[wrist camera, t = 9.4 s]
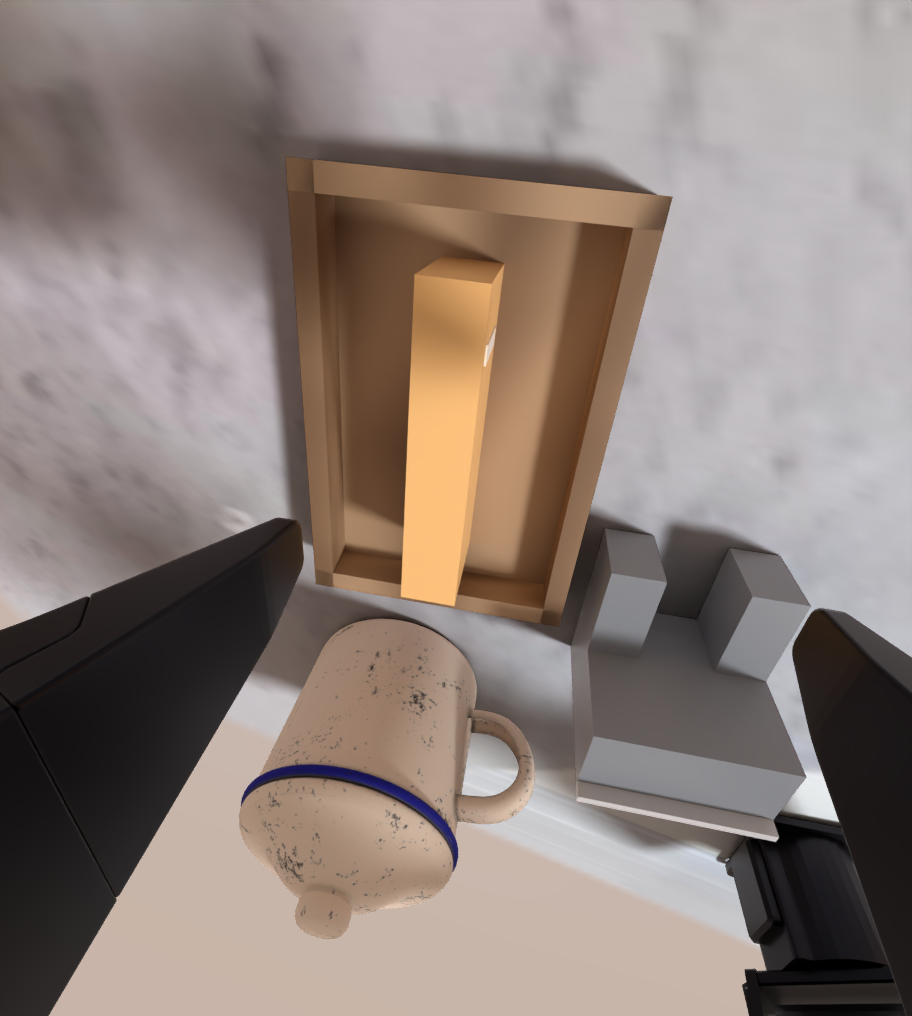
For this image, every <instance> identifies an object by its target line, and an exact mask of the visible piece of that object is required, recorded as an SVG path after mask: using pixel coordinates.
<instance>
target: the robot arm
mask: <svg viewBox="0 0 912 1016" xmlns="http://www.w3.org/2000/svg"><path fill="white" fill-rule="evenodd" d="M303 561H304V554H303V542H302V530H301V526H300V523H299V522H298V521H296V520H290V519H285V518H275V519H272V520H270V521H267V522H265V523H263V524H260V525H258V526H255V527H253V528H250V529H248V530H246V531H243V532H241V533H238V534H236V535H234V536H231V537H229V538H226V539H224V540H221V541H219V542H217V543H214V544H212V545H209V546H207V547H205V548H202V549H200V550H197V551H195V552H192V553H190V554H188V555H185V556H183V557H180V558H178V559H176V560H173V561H171V562H168V563H166V564H164V565H161V566H159V567H156V568H154V569H151V570H149V571H147V572H144V573H142V574H139V575H137V576H135V577H132V578H130V579H127V580H125V581H122V582H120V583H118V584H115V585H113V586H110V587H108V588H106V589H103V590H101V591H98V592H96V593H93V594H92V595H91V596H90V598H89V597H83V598H81V599H79V600H76V601H74V602H72V603H69V604H67V605H64V606H62V607H60V608H57V609H55V610H52V611H49V612H47V613H44V614H42V615H39V616H37V617H34V618H32V619H29V620H27V621H24V622H21V623H19V624H16V625H13V626H10V627H8V628H5V629H2V630H0V1016H49V1014H50V1013H51V1011H52V1009H53V1007H54V1006H55V1004H56V1002H57V1001H58V999H59V997H60V996H61V994H62V992H63V991H64V989H65V987H66V985H67V984H68V982H69V980H70V979H71V977H72V975H73V973H74V972H75V970H76V969H77V967H78V965H79V963H80V962H81V960H82V958H83V957H84V955H85V953H86V952H87V950H88V948H89V946H90V945H91V943H92V941H93V940H94V938H95V936H96V935H97V933H98V931H99V930H100V928H101V926H102V924H103V923H104V921H105V919H106V918H107V916H108V914H109V912H110V911H111V909H112V908H113V906H114V904H115V902H116V897H118V896H119V895H120V893H121V892H122V890H123V888H124V886H125V885H126V883H127V881H128V880H129V878H130V876H131V875H132V873H133V871H134V870H135V868H136V866H137V864H138V863H139V861H140V859H141V858H142V856H143V854H144V853H145V851H146V849H147V847H148V846H149V844H150V842H151V841H152V839H153V837H154V836H155V834H156V832H157V831H158V829H159V827H160V825H161V824H162V822H163V820H164V819H165V817H166V815H167V813H168V812H169V810H170V808H171V807H172V805H173V803H174V802H175V800H176V798H177V797H178V795H179V793H180V792H181V790H182V788H183V786H184V785H185V783H186V781H187V780H188V778H189V776H190V775H191V773H192V771H193V770H194V768H195V766H196V764H197V763H198V761H199V759H200V758H201V756H202V754H203V753H204V751H205V749H206V747H207V746H208V744H209V742H210V741H211V739H212V737H213V735H214V734H215V732H216V730H217V729H218V727H219V725H220V724H221V722H222V720H223V719H224V717H225V715H226V714H227V712H228V710H229V709H230V707H231V705H232V703H233V702H234V700H235V698H236V697H237V695H238V693H239V692H240V690H241V688H242V687H243V685H244V683H245V681H246V680H247V678H248V676H249V675H250V673H251V671H252V670H253V668H254V666H255V665H256V663H257V661H258V659H259V658H260V656H261V654H262V653H263V651H264V649H265V648H266V646H267V644H268V642H269V640H270V638H271V637H272V635H273V632H274V630H275V628H276V626H277V624H278V622H279V619H280V617H281V615H282V613H283V610H284V608H285V606H286V604H287V601H288V599H289V597H290V595H291V592H292V590H293V588H294V585H295V583H296V581H297V579H298V576H299V574H300V572H301V569H302V566H303ZM792 656H793V662H794V666H795V671H796V675H797V679H798V684H799V688H800V693H801V697H802V702H803V706H804V711H805V715H806V720H807V724H808V728H809V732H810V736H811V740H812V743H813V746H814V749H815V753H816V756H817V759H818V762H819V765H820V767H821V770H822V773H823V776H824V779H825V782H826V785H827V788H828V791H829V793H830V796H831V799H832V802H833V805H834V808H835V811H836V814H837V817H838V820H839V822H840V825H841V828H839V827H834V826H829V825H824V824H819V823H814V822H809V821H804V820H799V819H794V818H789V817H784V816H779V815H777V816H776V817H775V819H774V820H773V821H774V824H775V827H776V830H777V833H778V835H779V838H778V840H777V841H776V842H774V841H769V840H764V839H759V838H754V837H749V836H747V837H746V838H745V839H744V841H743V842H742V843H741V845H740V846H739V847H738V849H737V850H736V851H735V853H734V854H733V855H732V857H731V858H730V859H729V861H728V862H727V863H726V865H725V867H726V871H727V874H728V875H729V876H732V877H734V880H735V883H736V887H737V891H738V895H739V899H740V903H741V907H742V911H743V915H744V918H745V922H746V926H747V930H748V934H749V937H750V938H751V940H752V941H753V942H754V943H757V944H760V948H761V951H762V955H763V958H764V962H765V966H766V970H767V971H757V970H756V969H745V976H746V981H747V982H746V983H744V984H743V985H742V986H743V991H744V995H745V1000H746V1003H747V1008H748V1013H749V1016H912V657H910V656H909V655H907V654H906V653H904V652H903V651H901V650H900V649H898V648H897V647H895V646H894V645H893V644H891V643H890V642H888V641H887V640H885V639H884V638H882V637H881V636H879V635H878V634H876V633H875V632H873V631H872V630H870V629H869V628H867V627H866V626H865V625H863V624H862V623H860V622H859V621H857V620H856V619H854V618H853V617H851V616H850V615H848V614H847V613H844V612H841V611H835V610H829V609H823V608H819V609H816V610H814V611H813V612H812V613H811V614H810V616H809V617H808V619H807V621H806V623H805V624H804V626H803V628H802V630H801V631H800V633H799V635H798V637H797V638H796V640H795V642H794V645H793V650H792Z"/></svg>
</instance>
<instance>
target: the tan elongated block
mask: <svg viewBox="0 0 912 1016" xmlns="http://www.w3.org/2000/svg"><path fill="white" fill-rule="evenodd" d="M503 271H504V263H496V262H488V261H479V260H471V259H462V258H454V257H446V256H442V257H440V258H439V259H437V260H436V261H434V262H433V263H431V264H430V265H428V266H427V267H425V268H424V269H422V270H421V271H419V272H417V273H416V274H415V275H414V299H413V322H412V346H411V369H410V393H409V416H408V440H407V463H406V487H405V511H404V534H403V558H402V581H401V597H405V598H411V599H416V600H422V601H428V602H433V603H439V604H445V605H450V606H455V601H456V597H457V593H458V589H459V585H460V580H461V576H462V572H463V568H464V563H465V559H466V555H467V551H468V546H469V541H470V533H471V526H472V518H473V510H474V502H475V494H476V486H477V478H478V470H479V462H480V454H481V446H482V438H483V430H484V422H485V414H486V406H487V398H488V390H489V382H490V374H491V366H492V358H493V350H494V342H495V334H496V326H497V318H498V310H499V302H500V294H501V287H502V279H503Z"/></svg>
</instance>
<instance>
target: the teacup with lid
mask: <svg viewBox="0 0 912 1016" xmlns="http://www.w3.org/2000/svg"><path fill="white" fill-rule="evenodd" d="M476 695H477V685H476V679H475V676H474V673H473V670H472V668H471V666H470V664H469V663H468V661H467V660H466V658H465V657H464V656H463V654H462V653H461V652H460V651H459V650H458V649H457V648H456V647H455V646H454V645H453V644H452V643H450V642H449V641H448V640H446V639H445V638H444V637H442V636H440V635H439V634H437V633H435V632H433V631H431V630H429V629H427V628H425V627H422V626H420V625H417V624H414V623H410V622H406V621H401V620H394V619H370V620H364V621H359V622H356V623H353V624H350V625H348V626H346V627H344V628H342V629H340V630H339V631H338V632H336V633H335V634H334V635H333V636H331V637H330V639H329V640H328V641H327V642H326V644H325V645H324V647H323V649H322V651H321V653H320V655H319V657H318V659H317V661H316V663H315V665H314V667H313V669H312V671H311V673H310V675H309V677H308V679H307V681H306V683H305V685H304V687H303V689H302V691H301V693H300V695H299V697H298V699H297V701H296V703H295V705H294V707H293V709H292V711H291V713H290V715H289V717H288V719H287V721H286V723H285V725H284V727H283V729H282V731H281V733H280V735H279V737H278V739H277V741H276V743H275V746H274V748H273V749H272V751H271V753H270V756H269V758H268V760H267V762H266V764H265V766H264V768H263V770H262V772H261V774H260V776H259V777H257V778H256V779H255V780H254V781H253V782H252V783H251V784H250V785H249V786H248V787H247V789H246V790H245V792H244V795H243V797H242V802H241V809H240V814H239V824H240V830H241V835H242V837H243V840H244V842H245V844H246V845H247V847H248V848H249V850H250V851H251V853H252V854H253V855H254V856H255V857H256V858H257V859H258V860H259V861H260V862H261V863H262V864H263V865H264V866H265V867H266V868H268V869H269V870H270V871H271V872H273V873H274V874H276V875H277V876H279V878H280V879H281V881H282V882H283V884H284V885H285V886H286V887H287V888H288V889H289V890H290V892H292V893H293V894H294V895H295V896H296V897H298V898H299V902H298V905H297V908H296V911H295V918H296V923H297V925H298V926H299V928H300V929H302V930H303V931H304V932H306V933H308V934H310V935H312V936H315V937H318V938H323V939H334V938H338V937H340V936H341V935H342V934H343V933H344V932H345V931H346V930H347V928H348V925H349V922H350V918H351V915H360V914H366V913H370V912H373V911H376V910H378V909H381V908H400V907H407V906H412V905H416V904H419V903H422V902H424V901H426V900H428V899H430V898H432V897H434V896H435V895H436V894H438V893H439V892H440V891H441V890H442V889H443V887H444V886H445V885H446V883H447V882H448V881H449V879H450V877H451V874H452V872H453V871H454V869H455V867H456V864H457V859H458V847H457V842H456V839H455V833H456V827H457V822H458V821H459V822H467V823H475V824H494V823H499V822H502V821H505V820H507V819H509V818H512V817H513V816H514V815H516V814H517V813H519V812H520V811H521V810H522V809H523V808H524V807H525V806H526V804H527V803H528V801H529V799H530V797H531V795H532V792H533V788H534V782H535V770H534V761H533V756H532V752H531V749H530V746H529V744H528V742H527V740H526V738H525V736H524V735H523V733H522V732H521V731H520V729H519V728H518V727H517V726H516V725H515V724H514V723H513V722H511V721H510V720H509V719H507V718H505V717H504V716H501V715H499V714H496V713H493V712H488V711H482V710H474V708H475V702H476ZM471 733H480V734H486V735H491V736H494V737H496V738H499V739H500V740H502V741H503V742H505V743H506V744H507V745H508V746H509V747H510V749H511V750H512V751H513V753H514V755H515V757H516V759H517V761H518V764H519V770H518V775H517V777H516V780H515V781H514V783H513V784H512V785H511V786H510V787H509V788H508V789H506V790H505V791H503V792H502V793H499V794H497V795H494V796H487V797H478V796H467V795H461V794H462V787H463V781H464V774H465V767H466V761H467V754H468V748H469V741H470V735H471Z"/></svg>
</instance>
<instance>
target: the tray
mask: <svg viewBox="0 0 912 1016" xmlns="http://www.w3.org/2000/svg"><path fill="white" fill-rule="evenodd" d="M285 161H286V175H287V188H288V202H289V216H290V230H291V244H292V258H293V272H294V286H295V300H296V314H297V328H298V342H299V356H300V369H301V383H302V397H303V411H304V425H305V439H306V453H307V467H308V481H309V495H310V509H311V523H312V536H313V550H314V564H315V578H316V584H318V585H324V586H330V587H335V588H341V589H347V590H352V591H358V592H364V593H369V594H375V595H381V596H386V597H392V598H398V599H404V600H409V601H415V602H421V603H426V604H432V605H438V606H443V607H449V608H455V609H460V610H466V611H472V612H477V613H483V614H489V615H494V616H500V617H506V618H511V619H517V620H523V621H528V622H534V623H540V624H545V625H551V626H557V627H559V625H560V621H561V617H562V613H563V609H564V606H565V602H566V598H567V594H568V591H569V587H570V583H571V579H572V575H573V572H574V568H575V564H576V560H577V557H578V553H579V549H580V545H581V541H582V538H583V534H584V530H585V526H586V522H587V519H588V515H589V511H590V507H591V504H592V500H593V496H594V492H595V488H596V485H597V481H598V477H599V473H600V470H601V466H602V462H603V458H604V454H605V451H606V447H607V443H608V439H609V435H610V432H611V428H612V424H613V420H614V417H615V413H616V409H617V405H618V401H619V398H620V394H621V390H622V386H623V383H624V379H625V375H626V371H627V367H628V364H629V360H630V356H631V352H632V349H633V345H634V341H635V337H636V333H637V330H638V326H639V322H640V318H641V314H642V311H643V307H644V303H645V299H646V296H647V292H648V288H649V284H650V280H651V277H652V273H653V269H654V265H655V262H656V258H657V254H658V250H659V246H660V243H661V239H662V235H663V231H664V227H665V224H666V220H667V216H668V212H669V209H670V205H671V201H672V197H670V196H662V195H652V194H643V193H633V192H623V191H614V190H604V189H594V188H585V187H575V186H565V185H556V184H546V183H536V182H527V181H517V180H507V179H498V178H488V177H478V176H469V175H459V174H449V173H440V172H430V171H420V170H411V169H401V168H391V167H382V166H372V165H362V164H353V163H343V162H333V161H324V160H314V159H303V158H293V157H285ZM442 256H446V257H454V258H462V259H471V260H479V261H488V262H496V263H504V271H503V279H502V287H501V294H500V302H499V310H498V318H497V326H496V334H495V342H494V350H493V358H492V366H491V374H490V382H489V390H488V398H487V406H486V414H485V422H484V430H483V438H482V446H481V454H480V462H479V470H478V478H477V486H476V494H475V502H474V510H473V518H472V526H471V533H470V541H469V546H468V551H467V555H466V559H465V563H464V568H463V572H462V576H461V580H460V585H459V589H458V593H457V597H456V601H455V606H450V605H445V604H439V603H433V602H428V601H422V600H416V599H411V598H405V597H401V581H402V558H403V534H404V511H405V487H406V463H407V440H408V416H409V393H410V369H411V346H412V322H413V299H414V275H415V274H416V273H417V272H419V271H421V270H422V269H424V268H425V267H427V266H428V265H430V264H431V263H433V262H434V261H436V260H437V259H439V258H440V257H442Z"/></svg>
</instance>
